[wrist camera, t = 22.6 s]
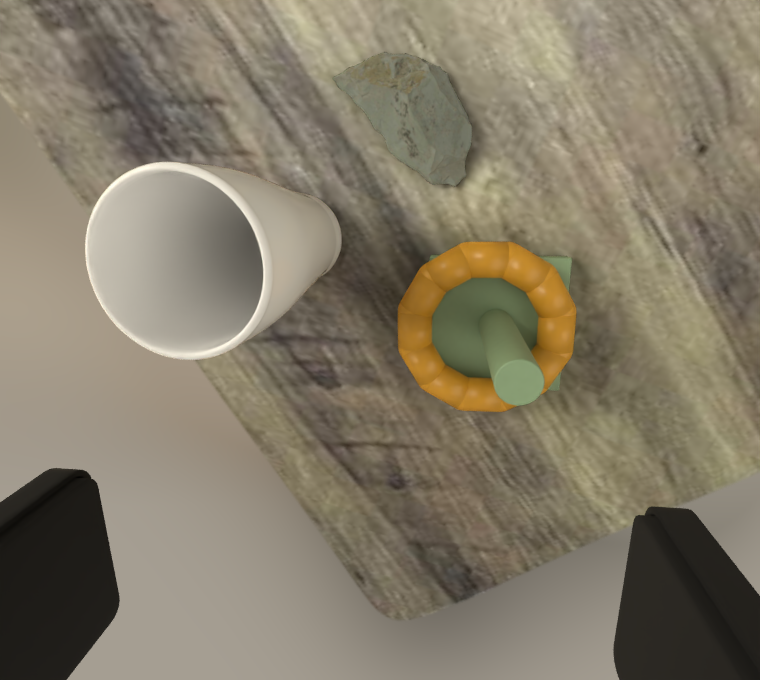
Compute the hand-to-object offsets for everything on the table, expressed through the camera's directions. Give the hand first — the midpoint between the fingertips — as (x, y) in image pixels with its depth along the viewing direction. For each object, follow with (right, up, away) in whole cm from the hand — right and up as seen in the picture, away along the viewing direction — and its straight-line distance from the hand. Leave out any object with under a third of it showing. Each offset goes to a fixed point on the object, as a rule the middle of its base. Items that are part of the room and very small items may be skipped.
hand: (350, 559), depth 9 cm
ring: (+6, +4, +20) cm, 22 cm away
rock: (+3, +17, +20) cm, 26 cm away
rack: (+8, +5, +22) cm, 24 cm away
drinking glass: (-4, +10, +22) cm, 25 cm away
